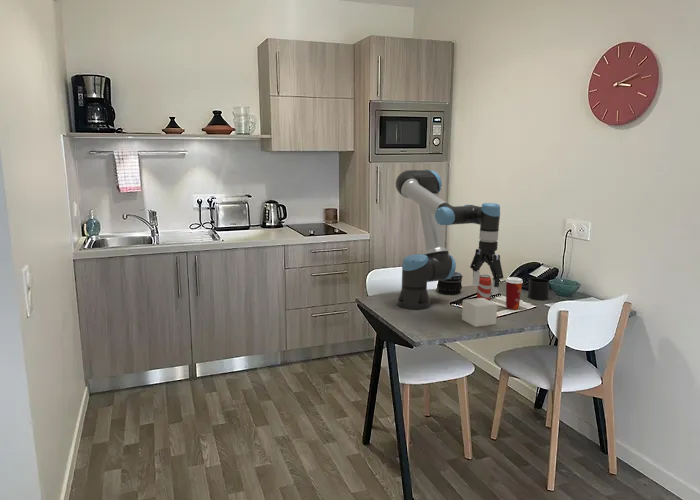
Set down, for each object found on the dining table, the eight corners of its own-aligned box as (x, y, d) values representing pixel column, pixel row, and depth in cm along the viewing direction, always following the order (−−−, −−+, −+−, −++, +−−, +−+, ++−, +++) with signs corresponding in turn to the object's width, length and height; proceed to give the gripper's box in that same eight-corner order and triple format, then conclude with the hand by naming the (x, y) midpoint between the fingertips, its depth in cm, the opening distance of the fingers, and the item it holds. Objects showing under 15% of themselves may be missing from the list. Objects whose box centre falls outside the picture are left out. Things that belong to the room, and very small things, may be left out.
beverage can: (484, 302, 254) (486, 278, 252) (474, 299, 259) (475, 275, 257) (492, 300, 257) (494, 276, 255) (482, 297, 263) (483, 273, 260)
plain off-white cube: (475, 326, 218) (476, 306, 216) (461, 319, 227) (462, 299, 226) (495, 324, 221) (497, 304, 220) (481, 317, 231) (483, 297, 229)
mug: (554, 297, 263) (556, 280, 262) (540, 301, 257) (542, 283, 255) (538, 293, 271) (539, 276, 269) (524, 297, 264) (525, 279, 262)
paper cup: (521, 310, 241) (524, 281, 238) (504, 309, 242) (506, 280, 240) (519, 306, 248) (522, 277, 246) (503, 304, 250) (505, 276, 247)
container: (457, 288, 278) (458, 270, 276) (464, 295, 266) (465, 276, 264) (434, 288, 277) (434, 270, 276) (440, 295, 265) (440, 276, 263)
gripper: (515, 245, 209) (510, 297, 213) (478, 235, 232) (475, 281, 236) (499, 246, 206) (495, 298, 210) (464, 235, 229) (461, 283, 233)
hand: (484, 289), depth 223 cm, fingers open, 13 cm apart
